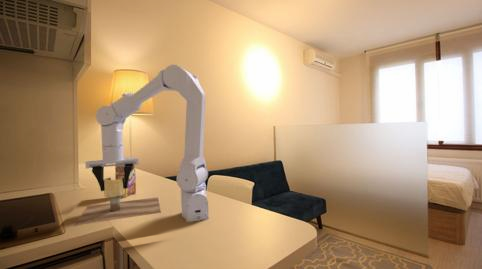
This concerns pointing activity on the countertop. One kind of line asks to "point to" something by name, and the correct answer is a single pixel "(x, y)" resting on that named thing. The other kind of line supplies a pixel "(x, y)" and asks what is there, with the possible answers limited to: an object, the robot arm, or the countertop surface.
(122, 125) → the robot arm
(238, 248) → the countertop surface
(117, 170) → the candy box
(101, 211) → the keyed post board
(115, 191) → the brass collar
